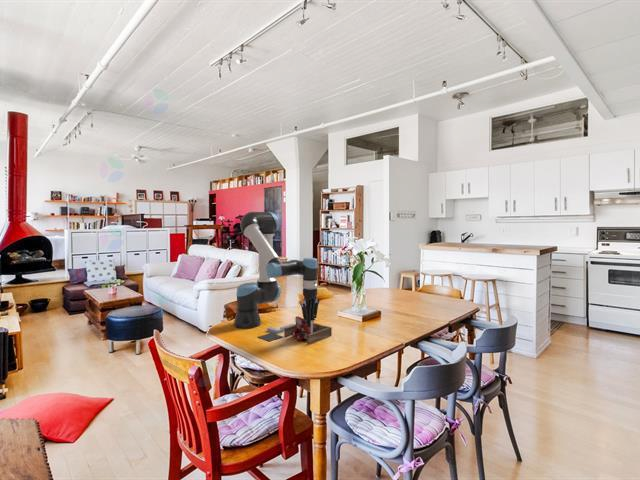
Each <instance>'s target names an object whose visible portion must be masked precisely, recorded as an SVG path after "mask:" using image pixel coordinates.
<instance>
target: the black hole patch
mask: <svg viewBox="0 0 640 480" xmlns="http://www.w3.org/2000/svg"><path fill="white" fill-rule="evenodd" d="M281 338H283V336H282V335H280V334H275V333H272V332H269V333H266V334H263V335H260V336H257V339H260V340H263V341H267V342H272V341H274V340H278V339H281Z"/></svg>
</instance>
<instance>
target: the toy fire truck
mask: <svg viewBox="0 0 640 480" xmlns="http://www.w3.org/2000/svg"><path fill="white" fill-rule="evenodd" d="M295 324H296V330H293V331H292V335H291V336H292V338H293V339H296V341H298V342H302V341H303V340H307V335H309V334H311V332H310V331H309V328H308V324H307V320H304V319H303V317H300V316H295Z"/></svg>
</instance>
